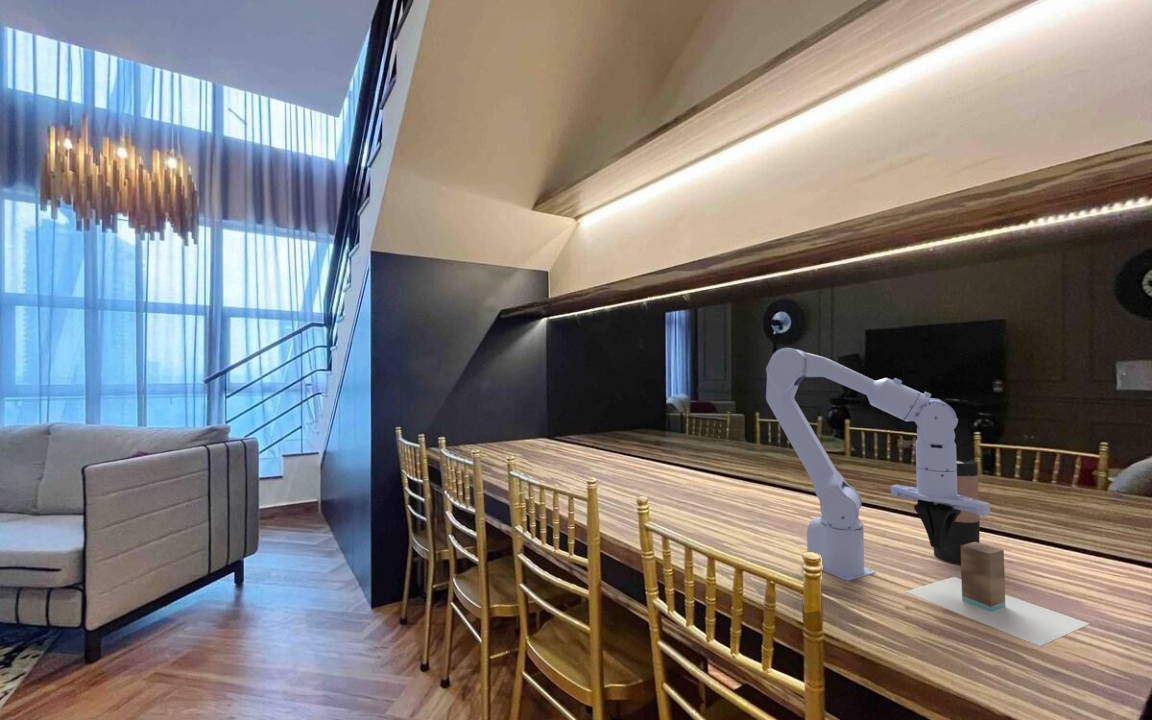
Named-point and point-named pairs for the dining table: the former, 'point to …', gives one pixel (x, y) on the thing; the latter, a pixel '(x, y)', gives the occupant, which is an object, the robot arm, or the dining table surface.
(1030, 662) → the dining table surface
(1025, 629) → the grey mat
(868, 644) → the dining table surface
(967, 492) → the travel mug
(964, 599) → the walnut block
